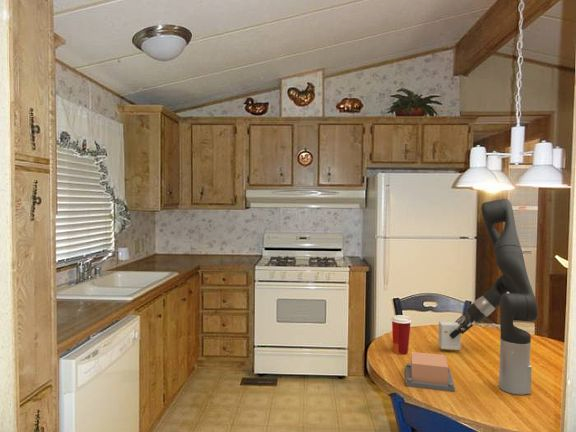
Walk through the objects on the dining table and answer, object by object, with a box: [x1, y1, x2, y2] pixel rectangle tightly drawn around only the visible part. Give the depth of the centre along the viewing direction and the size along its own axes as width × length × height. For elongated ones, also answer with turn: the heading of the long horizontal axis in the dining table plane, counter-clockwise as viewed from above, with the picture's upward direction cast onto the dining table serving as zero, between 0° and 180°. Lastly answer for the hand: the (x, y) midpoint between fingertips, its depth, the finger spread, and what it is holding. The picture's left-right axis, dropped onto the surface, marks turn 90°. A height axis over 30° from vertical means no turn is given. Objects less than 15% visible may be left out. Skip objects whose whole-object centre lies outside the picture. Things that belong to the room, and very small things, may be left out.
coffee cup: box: [390, 314, 412, 356], centre depth 185 cm, size 8×8×15 cm
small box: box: [438, 321, 462, 351], centre depth 187 cm, size 8×6×10 cm
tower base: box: [404, 351, 456, 393], centre depth 158 cm, size 16×16×8 cm
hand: (450, 334), depth 188 cm, fingers closed on small box, 6 cm apart
